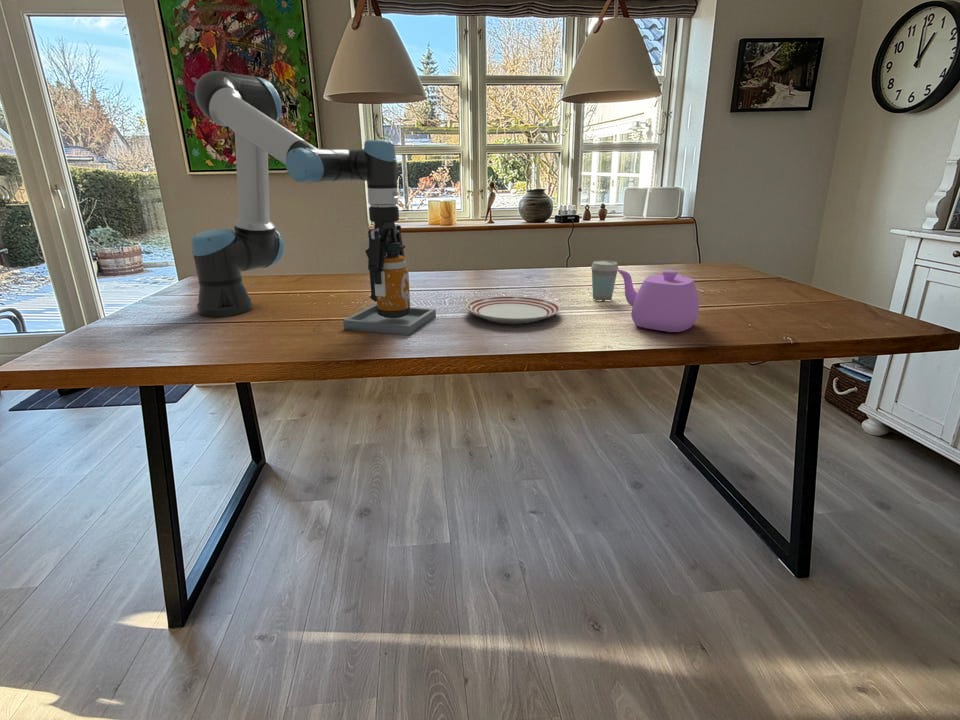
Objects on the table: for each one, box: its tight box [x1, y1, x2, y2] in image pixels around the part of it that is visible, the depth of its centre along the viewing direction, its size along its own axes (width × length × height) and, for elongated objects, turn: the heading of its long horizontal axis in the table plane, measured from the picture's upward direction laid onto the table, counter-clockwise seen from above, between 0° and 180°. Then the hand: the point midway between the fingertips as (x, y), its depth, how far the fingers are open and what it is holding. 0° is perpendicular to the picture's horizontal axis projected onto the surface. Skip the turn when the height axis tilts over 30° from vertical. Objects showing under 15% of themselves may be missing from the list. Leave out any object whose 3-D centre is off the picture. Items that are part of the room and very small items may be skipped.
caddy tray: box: [342, 303, 437, 336], centre depth 144 cm, size 19×17×2 cm
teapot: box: [616, 268, 700, 333], centre depth 142 cm, size 23×21×15 cm
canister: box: [365, 242, 411, 318], centre depth 140 cm, size 9×11×20 cm
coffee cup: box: [590, 260, 620, 301], centre depth 166 cm, size 8×9×12 cm
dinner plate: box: [465, 295, 561, 325], centre depth 152 cm, size 28×27×3 cm
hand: (389, 291), depth 142 cm, fingers closed on canister, 9 cm apart
